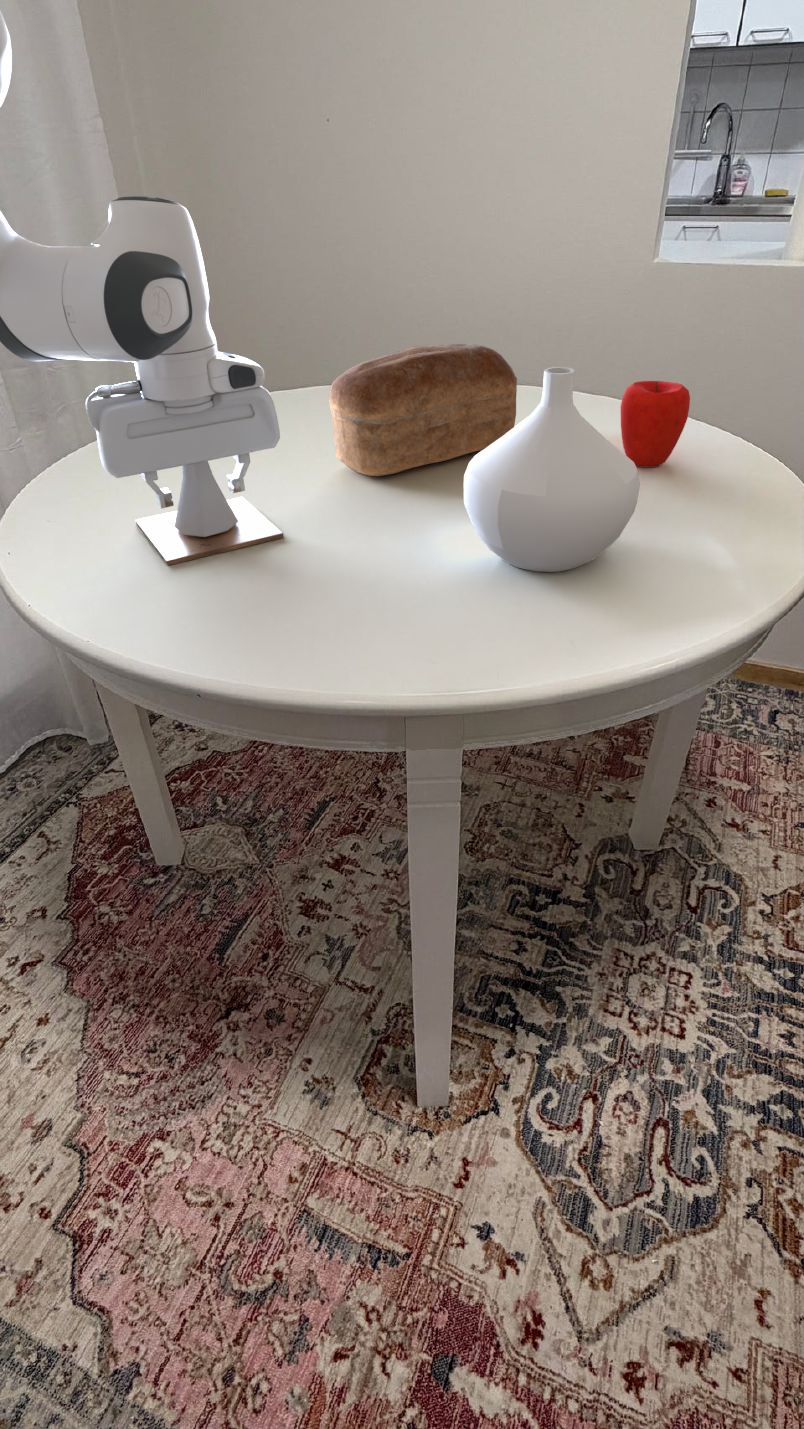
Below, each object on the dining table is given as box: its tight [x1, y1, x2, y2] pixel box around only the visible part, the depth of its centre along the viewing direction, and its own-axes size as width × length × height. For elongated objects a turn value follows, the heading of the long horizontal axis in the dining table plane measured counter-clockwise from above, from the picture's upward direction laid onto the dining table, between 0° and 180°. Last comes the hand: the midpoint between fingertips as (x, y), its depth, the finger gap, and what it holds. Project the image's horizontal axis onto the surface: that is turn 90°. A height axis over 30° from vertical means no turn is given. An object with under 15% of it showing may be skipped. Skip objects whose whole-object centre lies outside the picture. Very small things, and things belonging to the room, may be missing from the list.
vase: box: [463, 366, 641, 573], centre depth 83 cm, size 18×18×19 cm
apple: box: [620, 380, 691, 468], centre depth 108 cm, size 9×9×11 cm
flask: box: [174, 461, 239, 537], centre depth 93 cm, size 7×7×10 cm
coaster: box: [135, 496, 285, 566], centre depth 96 cm, size 14×14×1 cm
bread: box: [328, 343, 518, 477], centre depth 112 cm, size 12×28×14 cm, turn 124°
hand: (202, 498), depth 94 cm, fingers open, 7 cm apart
